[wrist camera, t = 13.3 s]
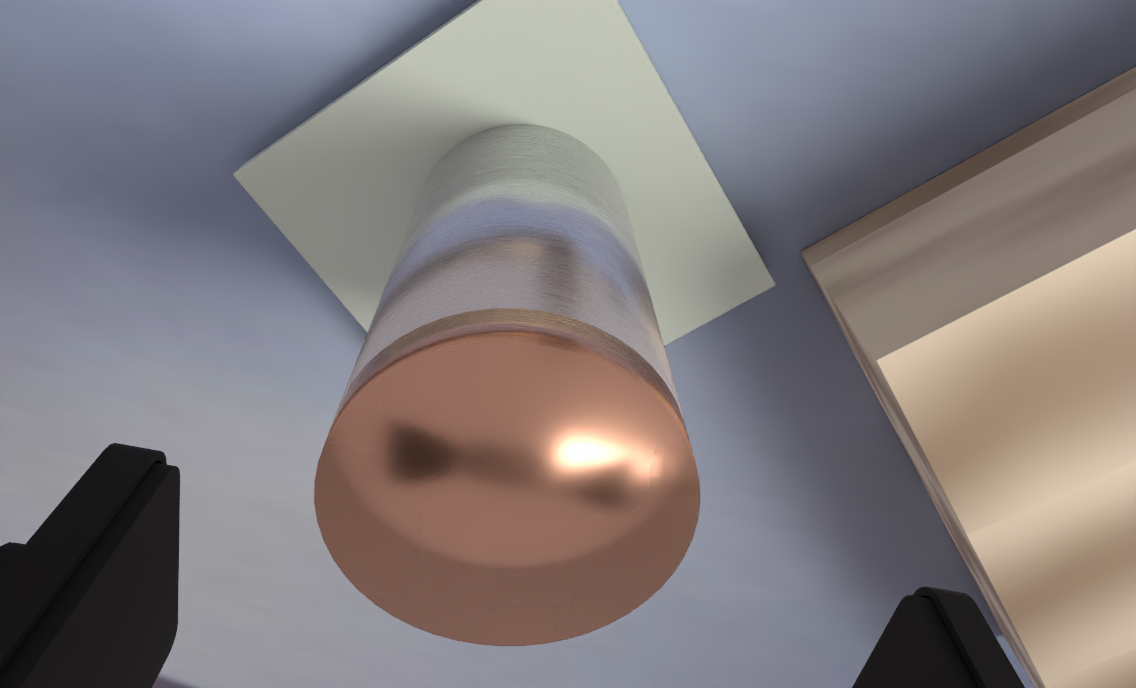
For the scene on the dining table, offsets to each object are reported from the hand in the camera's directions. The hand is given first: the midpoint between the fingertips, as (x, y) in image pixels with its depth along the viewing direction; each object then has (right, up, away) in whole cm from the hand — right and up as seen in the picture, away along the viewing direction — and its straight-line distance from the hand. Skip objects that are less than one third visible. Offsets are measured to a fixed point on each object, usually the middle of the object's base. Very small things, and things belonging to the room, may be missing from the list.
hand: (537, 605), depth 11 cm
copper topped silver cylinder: (-1, +6, +11) cm, 12 cm away
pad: (-1, +7, +12) cm, 13 cm away
